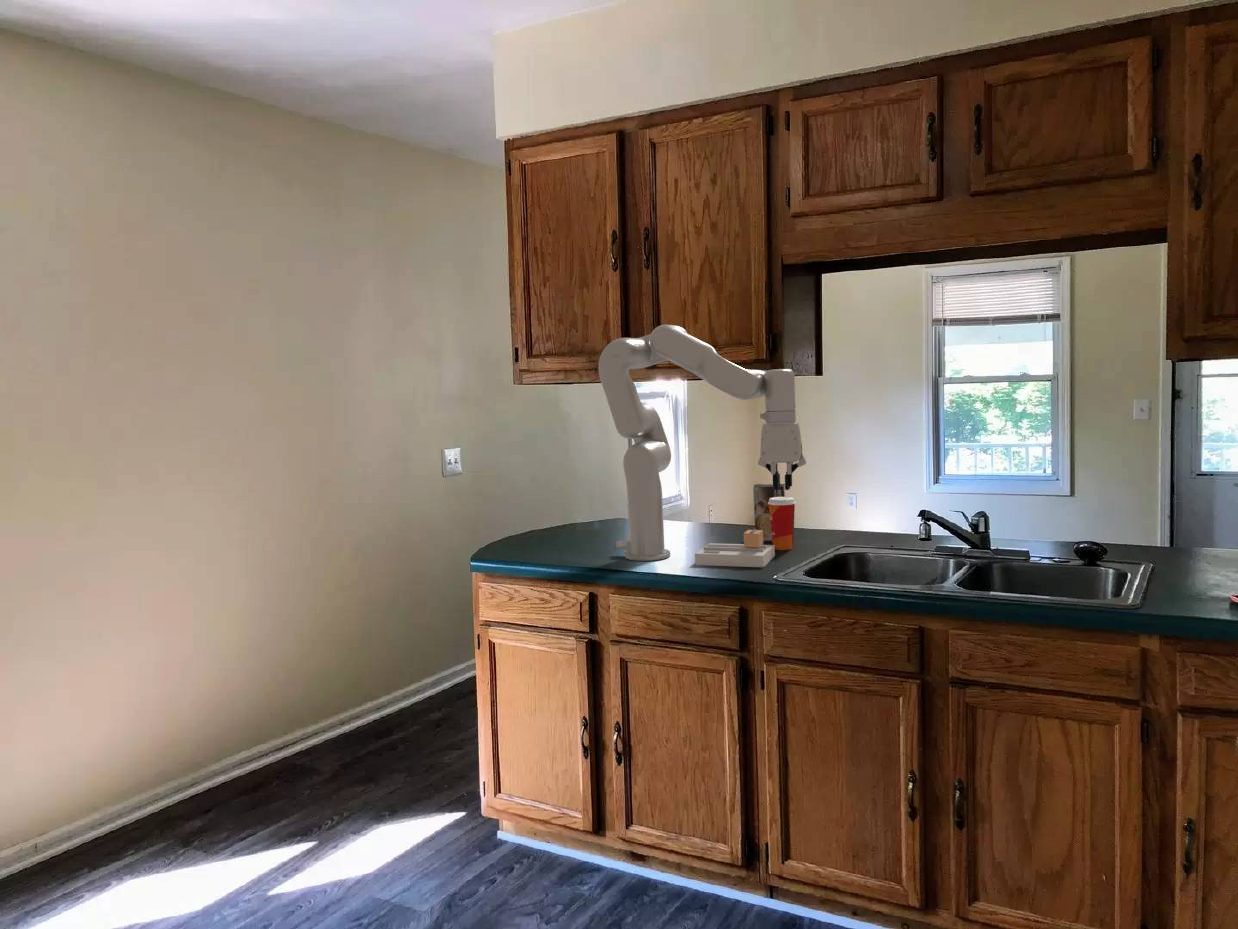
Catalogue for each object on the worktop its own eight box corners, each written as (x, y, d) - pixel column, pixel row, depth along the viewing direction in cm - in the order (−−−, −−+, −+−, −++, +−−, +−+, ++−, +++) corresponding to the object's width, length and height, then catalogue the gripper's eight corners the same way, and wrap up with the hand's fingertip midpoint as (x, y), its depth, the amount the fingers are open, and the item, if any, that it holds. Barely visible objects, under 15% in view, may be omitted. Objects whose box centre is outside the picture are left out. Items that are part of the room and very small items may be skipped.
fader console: (695, 564, 241) (694, 550, 241) (709, 554, 254) (709, 540, 254) (763, 567, 235) (763, 552, 235) (774, 556, 248) (774, 542, 248)
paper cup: (777, 544, 264) (776, 495, 262) (802, 546, 259) (800, 497, 257) (763, 549, 258) (762, 499, 256) (788, 552, 253) (786, 501, 251)
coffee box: (787, 537, 274) (786, 483, 273) (786, 541, 268) (784, 486, 266) (756, 537, 277) (754, 483, 275) (754, 541, 270) (752, 486, 269)
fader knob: (744, 551, 241) (743, 532, 240) (748, 547, 246) (747, 528, 245) (759, 551, 240) (758, 532, 239) (763, 547, 244) (762, 529, 244)
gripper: (746, 419, 236) (748, 491, 237) (809, 418, 230) (811, 491, 232) (753, 417, 243) (755, 487, 244) (814, 416, 237) (816, 487, 239)
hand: (782, 488), depth 238 cm, fingers closed
